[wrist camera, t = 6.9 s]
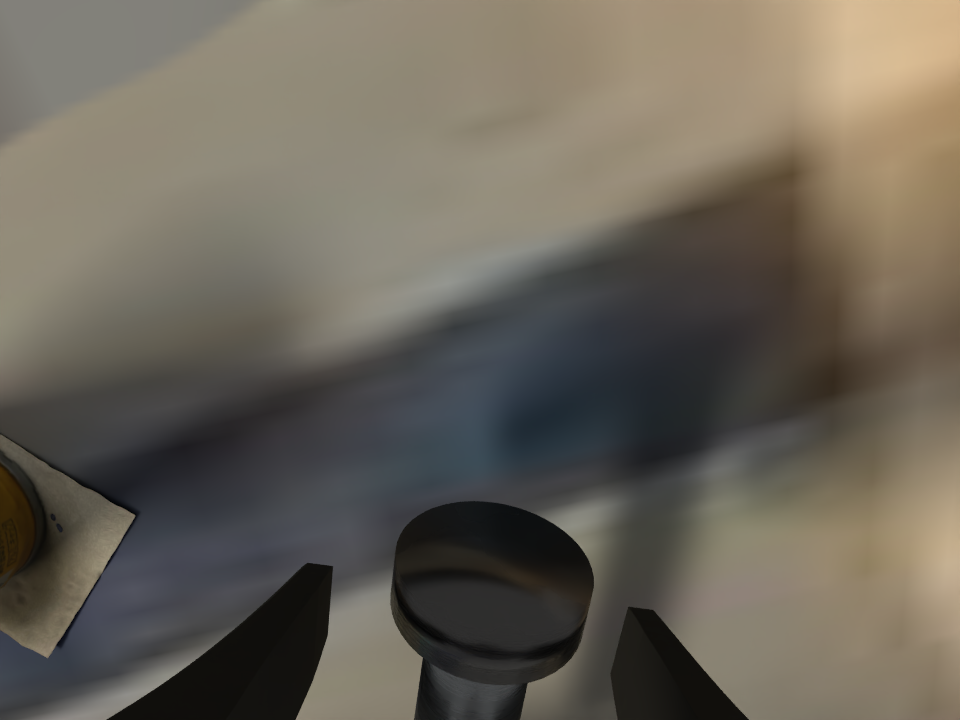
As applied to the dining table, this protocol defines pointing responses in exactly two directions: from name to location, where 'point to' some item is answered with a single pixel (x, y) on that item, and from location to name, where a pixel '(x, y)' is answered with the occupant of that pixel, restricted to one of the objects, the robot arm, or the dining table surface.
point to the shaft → (487, 606)
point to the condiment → (49, 547)
